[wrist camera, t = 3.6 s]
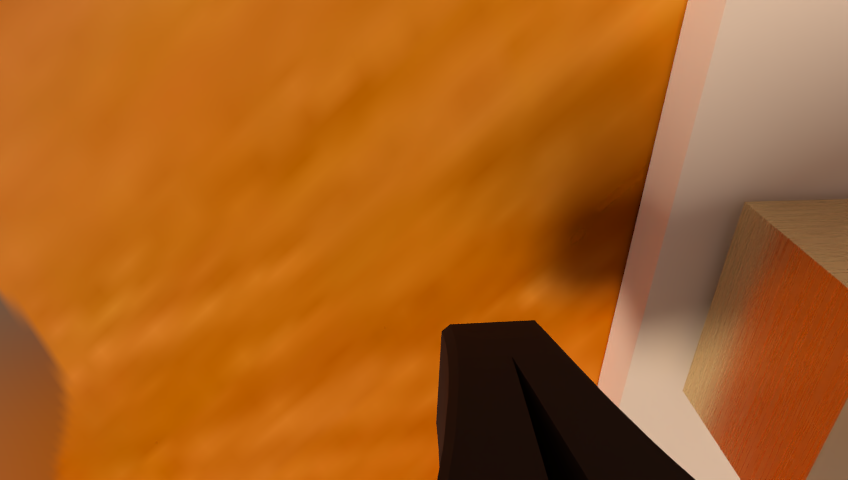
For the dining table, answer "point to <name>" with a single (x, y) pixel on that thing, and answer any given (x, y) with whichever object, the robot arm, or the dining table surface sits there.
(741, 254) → the block
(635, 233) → the door panel
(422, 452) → the dining table surface
